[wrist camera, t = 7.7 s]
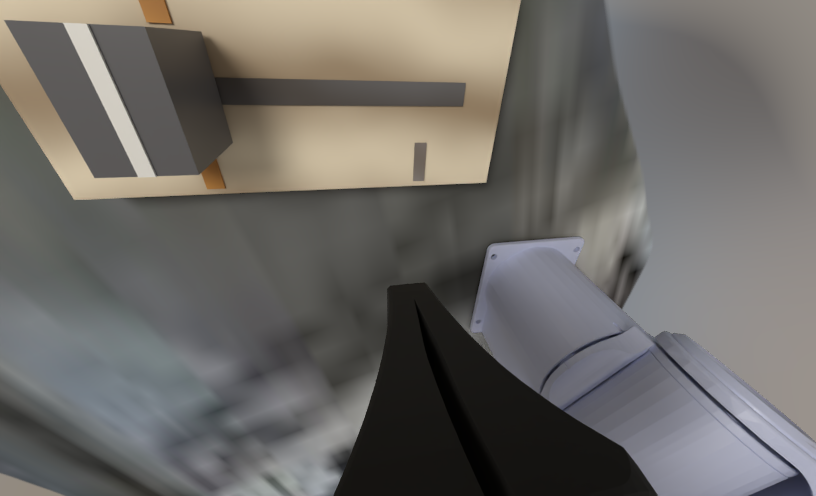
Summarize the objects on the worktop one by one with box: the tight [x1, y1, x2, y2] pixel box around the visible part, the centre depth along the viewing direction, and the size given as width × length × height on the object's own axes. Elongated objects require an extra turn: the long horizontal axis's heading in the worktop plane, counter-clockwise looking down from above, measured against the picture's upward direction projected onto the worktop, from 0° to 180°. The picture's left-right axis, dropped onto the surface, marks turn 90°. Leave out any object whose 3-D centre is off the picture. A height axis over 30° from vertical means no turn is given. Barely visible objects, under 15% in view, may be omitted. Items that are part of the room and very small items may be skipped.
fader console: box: [0, 0, 521, 200], centre depth 14 cm, size 9×20×2 cm, turn 87°
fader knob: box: [4, 20, 233, 178], centre depth 10 cm, size 4×3×4 cm
